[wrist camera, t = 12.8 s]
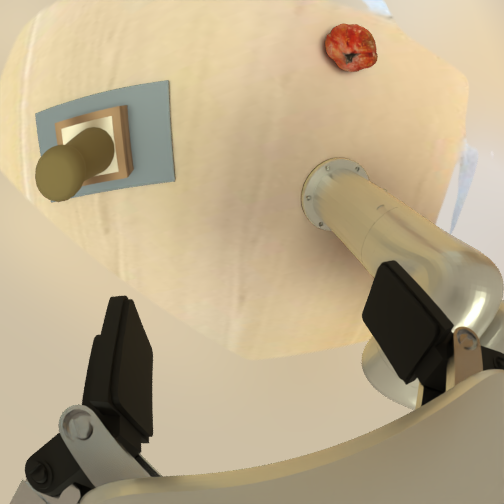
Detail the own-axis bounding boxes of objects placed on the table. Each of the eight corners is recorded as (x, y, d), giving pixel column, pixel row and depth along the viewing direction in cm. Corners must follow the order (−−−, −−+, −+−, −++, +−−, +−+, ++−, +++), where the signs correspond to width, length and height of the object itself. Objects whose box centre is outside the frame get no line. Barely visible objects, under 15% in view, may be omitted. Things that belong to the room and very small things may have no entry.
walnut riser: (127, 105, 28) (119, 106, 24) (133, 169, 33) (127, 178, 29) (67, 119, 26) (54, 123, 23) (76, 180, 31) (65, 190, 28)
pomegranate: (326, 24, 28) (305, 41, 25) (368, 12, 23) (356, 25, 20) (348, 62, 33) (332, 86, 30) (388, 54, 28) (382, 77, 25)
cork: (87, 184, 28) (50, 223, 19) (63, 147, 25) (16, 173, 16) (123, 156, 28) (94, 186, 19) (99, 117, 24) (57, 129, 15)
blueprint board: (168, 80, 28) (168, 80, 27) (175, 179, 36) (174, 181, 35) (38, 112, 25) (35, 113, 24) (53, 200, 32) (51, 202, 32)
